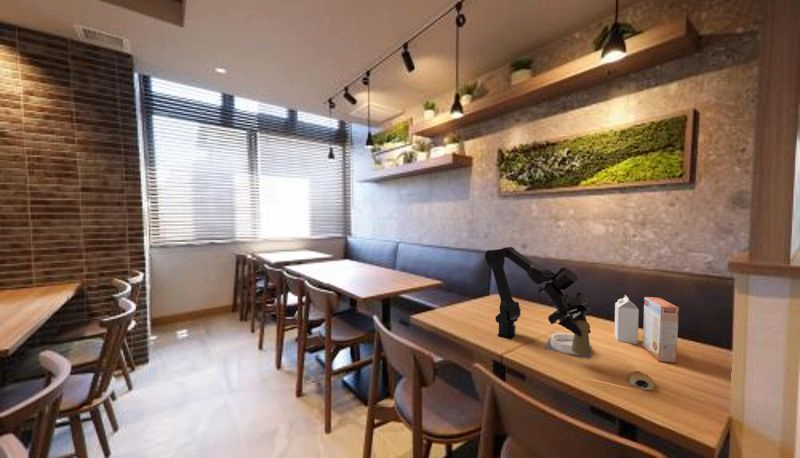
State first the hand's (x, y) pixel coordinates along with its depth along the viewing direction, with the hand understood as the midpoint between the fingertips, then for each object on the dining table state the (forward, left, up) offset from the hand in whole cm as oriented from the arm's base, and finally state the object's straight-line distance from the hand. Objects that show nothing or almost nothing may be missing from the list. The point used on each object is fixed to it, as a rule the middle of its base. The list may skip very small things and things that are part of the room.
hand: (585, 334), depth 115 cm
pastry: (+16, -4, -12) cm, 20 cm away
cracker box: (+24, +26, -12) cm, 37 cm away
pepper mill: (-1, +1, -7) cm, 7 cm away
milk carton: (+14, +36, -12) cm, 40 cm away
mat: (-6, +14, -12) cm, 19 cm away
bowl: (-6, +14, -11) cm, 19 cm away
